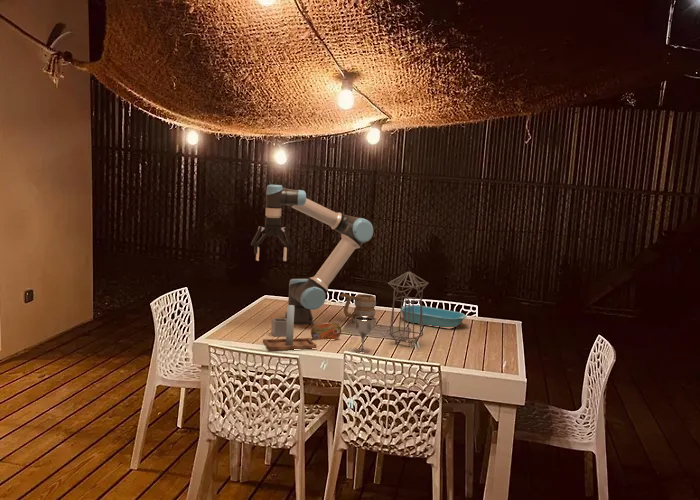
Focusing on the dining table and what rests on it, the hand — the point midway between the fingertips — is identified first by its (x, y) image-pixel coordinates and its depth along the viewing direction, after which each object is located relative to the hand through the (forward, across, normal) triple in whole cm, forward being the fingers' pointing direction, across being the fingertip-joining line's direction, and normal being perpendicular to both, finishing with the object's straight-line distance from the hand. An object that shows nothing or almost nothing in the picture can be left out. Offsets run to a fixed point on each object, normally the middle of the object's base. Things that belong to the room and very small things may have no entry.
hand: (271, 260), depth 321 cm
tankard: (+35, -53, -15) cm, 65 cm away
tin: (+35, -23, +21) cm, 47 cm away
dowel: (+34, -3, +30) cm, 45 cm away
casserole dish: (+35, -94, -5) cm, 100 cm away
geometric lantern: (+35, -59, +32) cm, 76 cm away
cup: (+35, -3, +12) cm, 37 cm away
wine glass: (+35, -34, +41) cm, 64 cm away
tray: (+35, -3, +30) cm, 46 cm away
